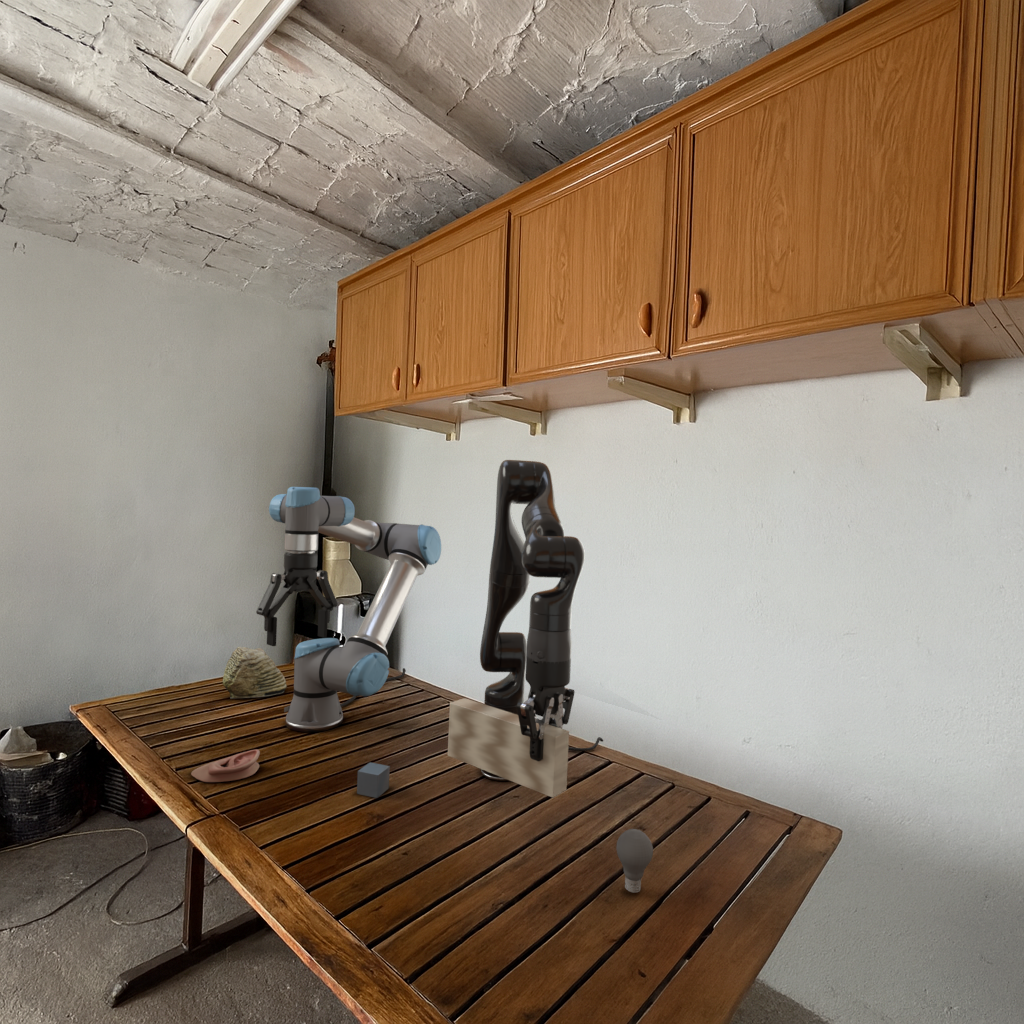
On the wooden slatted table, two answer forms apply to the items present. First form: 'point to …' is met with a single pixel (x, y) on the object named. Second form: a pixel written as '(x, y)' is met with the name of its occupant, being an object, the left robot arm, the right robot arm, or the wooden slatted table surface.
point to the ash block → (507, 747)
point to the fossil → (252, 674)
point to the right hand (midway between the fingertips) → (544, 755)
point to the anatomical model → (229, 768)
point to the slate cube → (373, 780)
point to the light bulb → (634, 857)
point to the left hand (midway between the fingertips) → (297, 640)
